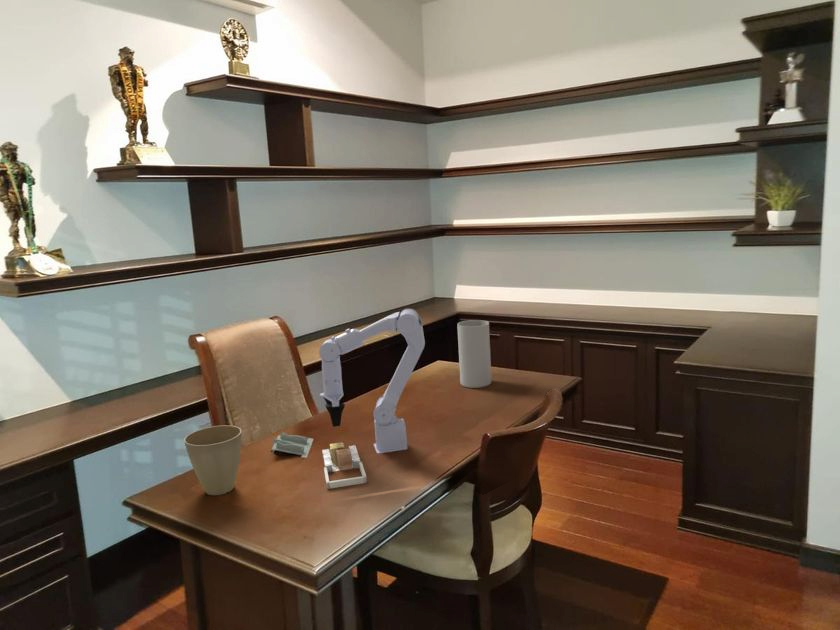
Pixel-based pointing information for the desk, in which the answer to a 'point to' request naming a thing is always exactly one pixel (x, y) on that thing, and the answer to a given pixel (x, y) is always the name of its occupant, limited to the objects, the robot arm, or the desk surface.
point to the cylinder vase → (474, 353)
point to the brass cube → (333, 450)
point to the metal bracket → (292, 444)
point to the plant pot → (215, 457)
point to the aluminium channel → (333, 465)
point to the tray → (346, 481)
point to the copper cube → (344, 458)
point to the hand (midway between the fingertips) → (335, 421)
